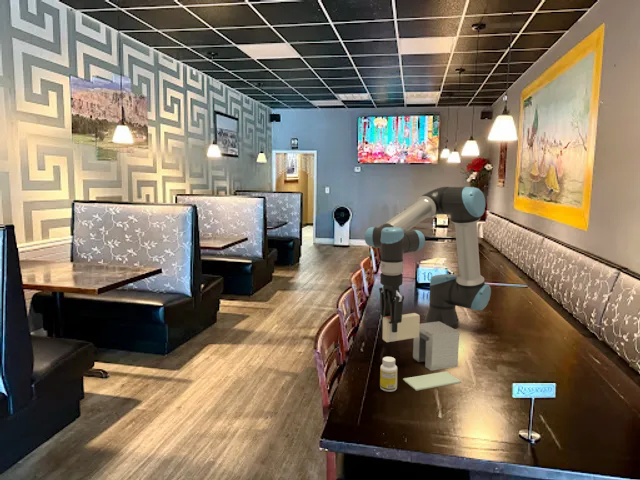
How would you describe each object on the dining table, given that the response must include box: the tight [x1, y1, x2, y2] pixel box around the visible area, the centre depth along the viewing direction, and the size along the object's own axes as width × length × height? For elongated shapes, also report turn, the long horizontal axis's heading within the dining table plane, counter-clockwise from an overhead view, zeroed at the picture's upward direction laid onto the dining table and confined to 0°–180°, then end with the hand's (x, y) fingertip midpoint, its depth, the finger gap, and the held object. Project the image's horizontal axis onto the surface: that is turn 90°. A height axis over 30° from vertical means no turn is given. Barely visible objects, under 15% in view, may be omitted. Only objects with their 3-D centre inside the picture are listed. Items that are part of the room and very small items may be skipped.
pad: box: [402, 370, 462, 391], centre depth 147 cm, size 17×8×1 cm, turn 110°
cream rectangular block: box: [382, 312, 421, 343], centre depth 155 cm, size 13×3×8 cm, turn 110°
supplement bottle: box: [379, 356, 398, 393], centre depth 141 cm, size 5×5×10 cm
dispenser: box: [412, 321, 460, 372], centre depth 161 cm, size 12×12×13 cm
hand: (390, 338), depth 155 cm, fingers closed on cream rectangular block, 3 cm apart
